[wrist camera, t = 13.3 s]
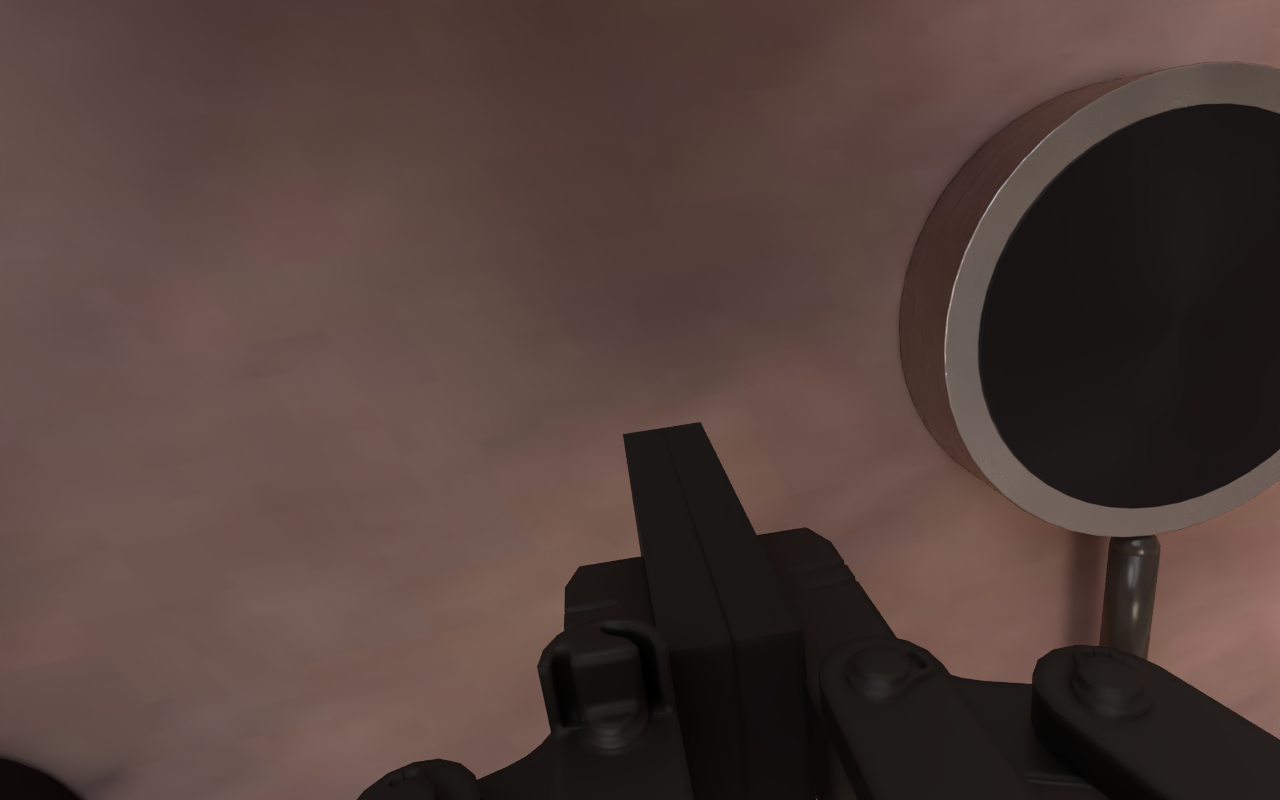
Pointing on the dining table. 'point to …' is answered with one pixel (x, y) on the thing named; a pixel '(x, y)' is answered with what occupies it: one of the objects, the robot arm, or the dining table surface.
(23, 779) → the mug
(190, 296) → the dining table surface
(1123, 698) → the robot arm
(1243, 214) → the pan
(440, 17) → the dining table surface
